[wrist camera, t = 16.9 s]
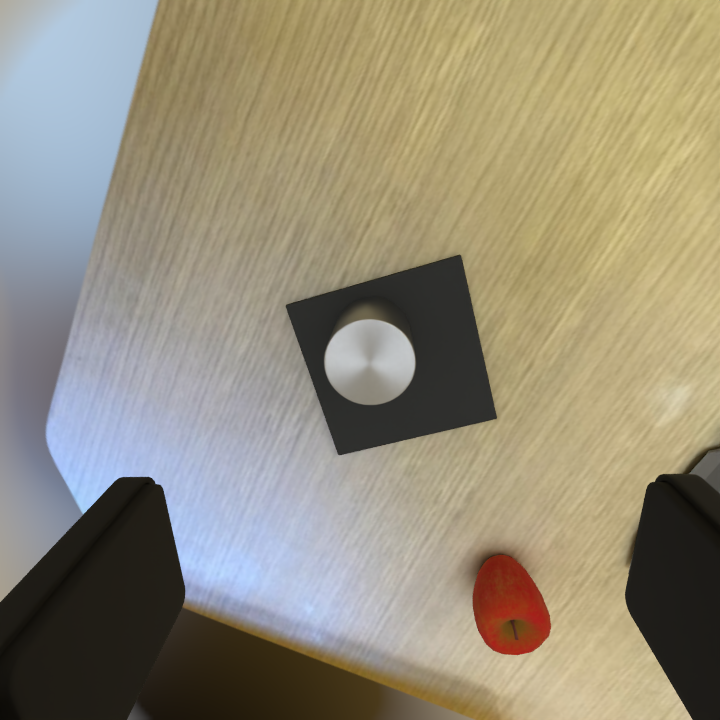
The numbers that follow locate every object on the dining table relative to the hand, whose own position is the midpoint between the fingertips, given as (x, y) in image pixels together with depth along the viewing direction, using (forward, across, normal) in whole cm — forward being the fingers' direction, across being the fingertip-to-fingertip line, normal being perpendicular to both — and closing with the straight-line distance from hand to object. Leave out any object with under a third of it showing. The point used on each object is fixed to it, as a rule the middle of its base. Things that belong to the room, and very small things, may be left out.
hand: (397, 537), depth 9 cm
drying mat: (+28, 0, +6) cm, 29 cm away
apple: (+28, -10, +28) cm, 41 cm away
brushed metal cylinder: (+27, +1, +4) cm, 28 cm away
